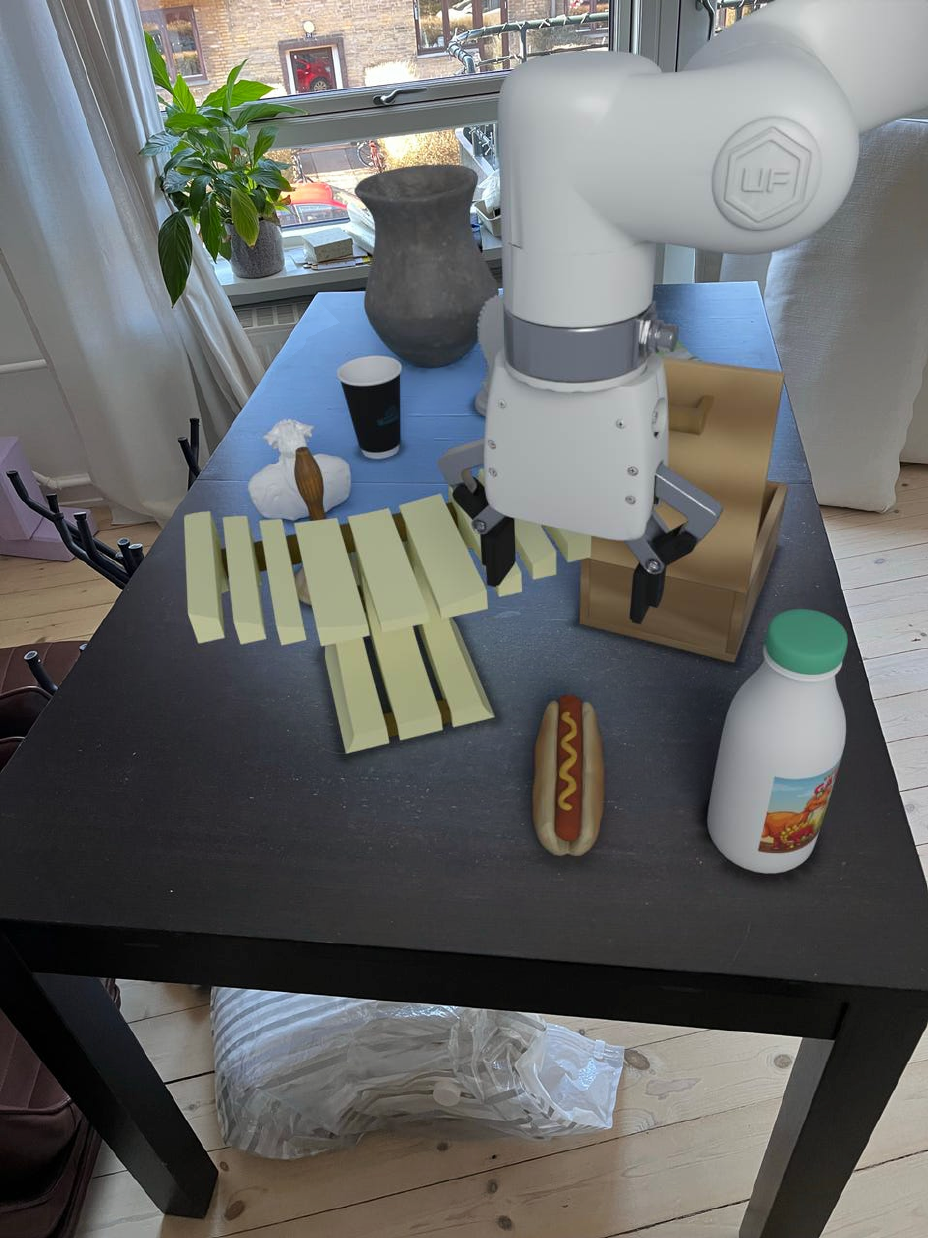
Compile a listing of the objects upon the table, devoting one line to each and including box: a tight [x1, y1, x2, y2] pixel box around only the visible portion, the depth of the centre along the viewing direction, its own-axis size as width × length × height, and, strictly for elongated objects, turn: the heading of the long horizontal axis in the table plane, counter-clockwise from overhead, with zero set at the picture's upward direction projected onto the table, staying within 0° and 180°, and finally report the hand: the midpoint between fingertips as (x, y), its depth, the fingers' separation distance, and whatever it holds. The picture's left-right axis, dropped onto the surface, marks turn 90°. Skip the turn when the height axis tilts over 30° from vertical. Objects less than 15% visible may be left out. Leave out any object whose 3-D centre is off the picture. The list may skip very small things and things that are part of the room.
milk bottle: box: [706, 608, 848, 874], centre depth 59 cm, size 8×8×20 cm
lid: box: [589, 356, 786, 593], centre depth 69 cm, size 20×15×5 cm
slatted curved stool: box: [183, 467, 591, 754], centre depth 76 cm, size 30×16×18 cm, turn 105°
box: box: [578, 479, 790, 664], centre depth 86 cm, size 19×15×8 cm
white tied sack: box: [246, 418, 352, 521], centre depth 102 cm, size 12×8×11 cm
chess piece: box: [474, 294, 504, 418], centre depth 116 cm, size 10×10×15 cm
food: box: [531, 694, 606, 857], centre depth 68 cm, size 14×6×5 cm, turn 174°
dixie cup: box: [336, 355, 403, 460], centre depth 110 cm, size 8×8×11 cm
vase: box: [354, 163, 500, 368], centre depth 126 cm, size 20×19×25 cm
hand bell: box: [294, 446, 360, 607], centre depth 88 cm, size 8×8×16 cm
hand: (569, 591), depth 57 cm, fingers open, 9 cm apart
